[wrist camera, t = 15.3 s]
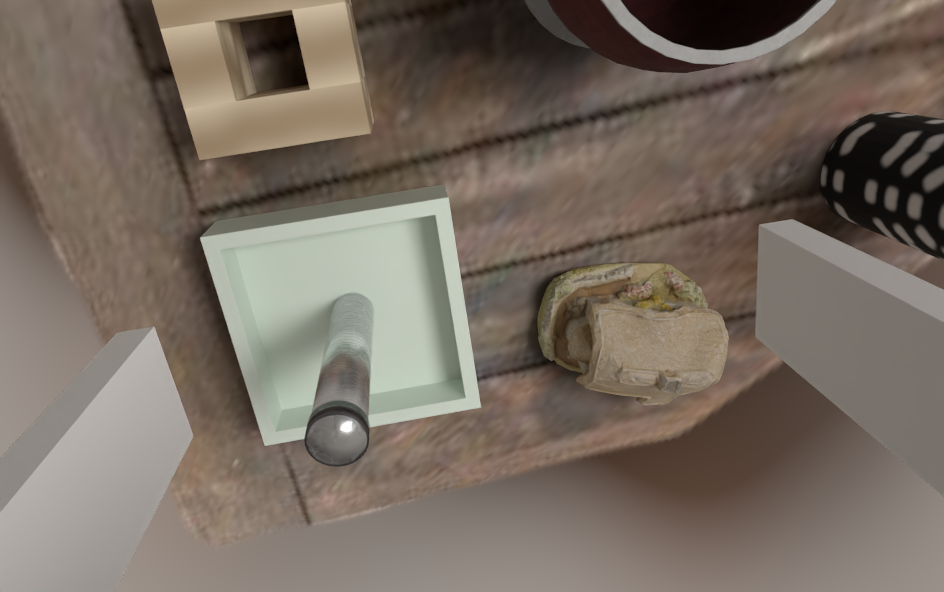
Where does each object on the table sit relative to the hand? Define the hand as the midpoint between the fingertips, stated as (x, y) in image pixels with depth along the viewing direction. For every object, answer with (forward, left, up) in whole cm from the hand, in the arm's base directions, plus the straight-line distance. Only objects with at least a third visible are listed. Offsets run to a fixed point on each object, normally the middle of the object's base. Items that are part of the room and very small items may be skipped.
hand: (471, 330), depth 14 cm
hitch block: (-6, -8, -33) cm, 34 cm away
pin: (+12, -7, -32) cm, 35 cm away
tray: (+12, -7, -33) cm, 36 cm away
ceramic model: (+17, +13, -33) cm, 40 cm away
